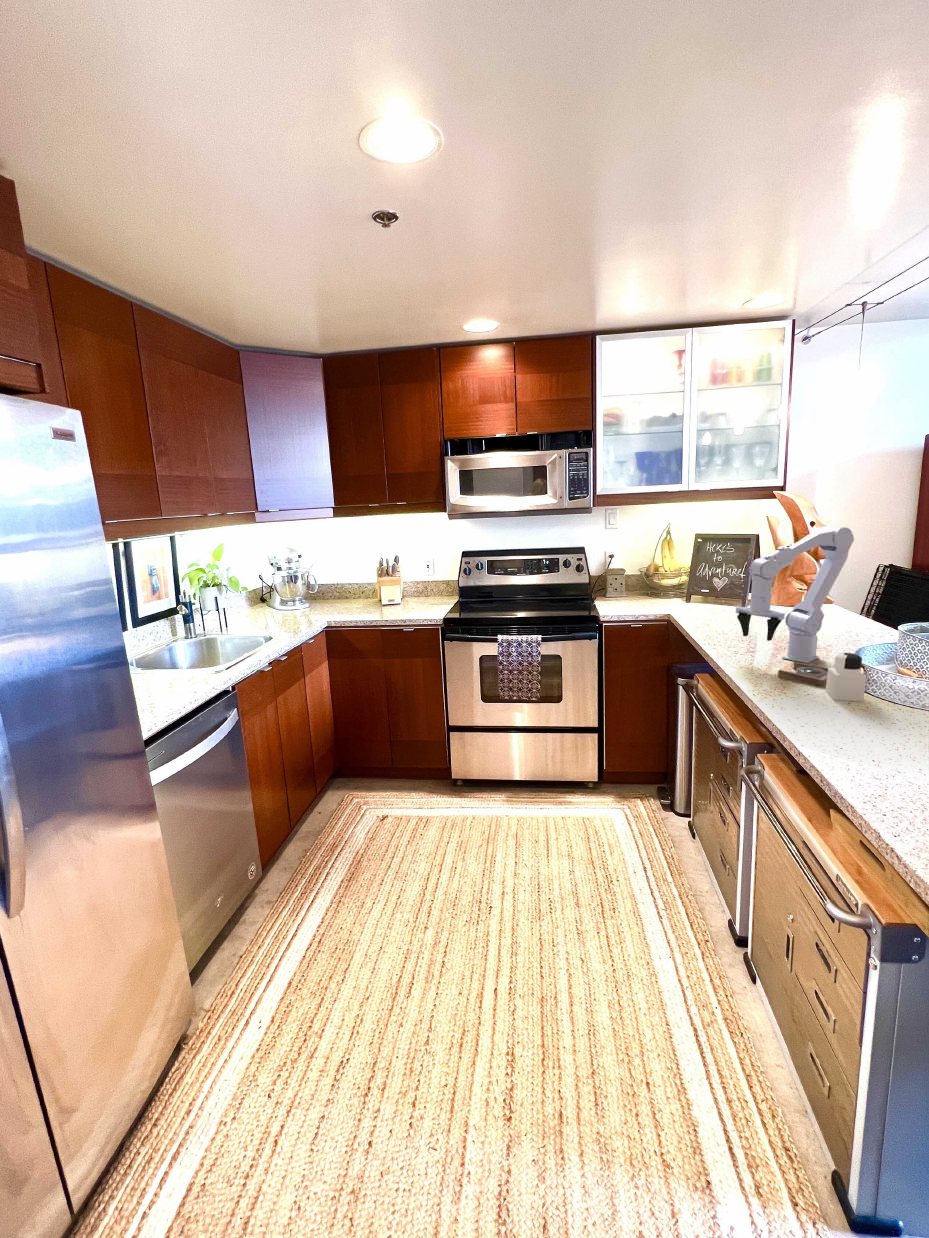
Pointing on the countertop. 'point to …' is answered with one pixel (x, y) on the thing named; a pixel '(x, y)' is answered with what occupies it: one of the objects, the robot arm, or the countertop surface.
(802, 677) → the cradle
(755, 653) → the countertop surface
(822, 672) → the ring
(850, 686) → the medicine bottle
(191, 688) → the countertop surface
